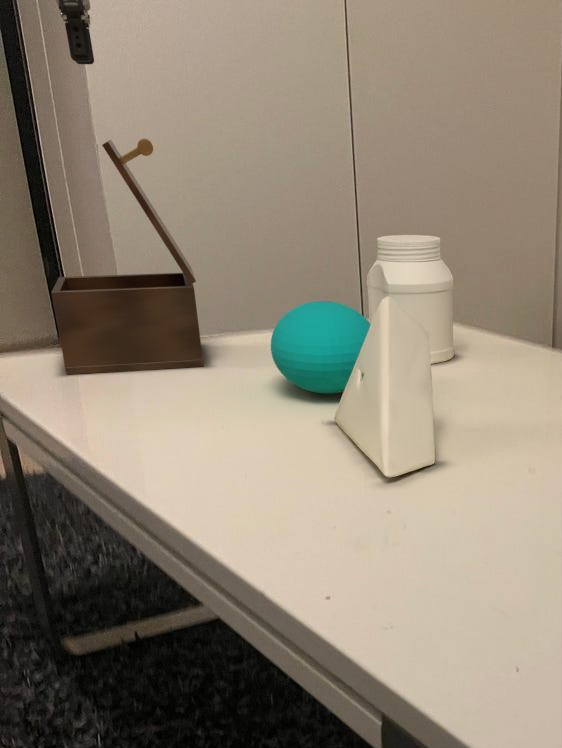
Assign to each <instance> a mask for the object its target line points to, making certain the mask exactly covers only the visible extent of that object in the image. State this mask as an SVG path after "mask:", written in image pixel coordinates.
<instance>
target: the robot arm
mask: <svg viewBox="0 0 562 748" xmlns="http://www.w3.org/2000/svg"><path fill="white" fill-rule="evenodd" d="M55 3H56V4H57V6H58V10H59V11H60V18H62V22H64V25H65V31H66V39H67V43H68V49H69V55H70V59H71V60H72V61H74V62H75V63H76V64H77V65H93V64H94V63H95V57H94V51H93V45H92V44H93V43H92V39H91V33H90V28H91V27H90V25H91V16H90V14H89V11H90V10H91V2H90V0H55Z"/></svg>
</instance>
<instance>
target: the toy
mask: <svg viewBox="0 0 562 748" xmlns="http://www.w3.org/2000/svg"><path fill="white" fill-rule="evenodd" d="M370 326H371V324H370V323H369V319H367V318H366V317H365V316H364V315H363V314H361V312H359V311H358V310H356V309H354V308H352V307H350V306H348V305H345V304H342V303H340V302H335V301H330V300H329V301H328V300H319V301H318V300H317V301H309V302H306V303H303V304H300V305H298V306H296V307H294V308H292V309H290V310H289V311H287V312H286V313H285V314H284V315H283V316H282V317H281V318H280V319H279V321H278V322H277V323H276V324H275V327H274V328H273V331H272V334H271V338H270V354H271V358H272V360H273V362H274V364H275V366H276V368H277V369H278V371H279V372H280V374H281V375H282V376H283V377H284V378H285V379H286V380H288V381H289V382H290V383H292V384H293V385H295V386H296V387H298V388H300V389H302V390H305V391H308V392H311V393H316V394H326V395H329V394H339V393H344V390H345V388H346V385H347V383H348V380H349V378H350V375H351V373H352V370H353V368H354V365H355V363H356V360H357V358H358V356H359V353H360V351H361V348H362V346H363V343H364V341H365V338H366V336H367V333H368V331H369V328H370ZM363 375H364V374H362V379H363Z"/></svg>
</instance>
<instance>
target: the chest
mask: <svg viewBox="0 0 562 748" xmlns="http://www.w3.org/2000/svg"><path fill="white" fill-rule="evenodd" d="M50 294H51V300H52V305H53V311H54V315H55V320H56V326H57V331H58V336H59V341H60V342H59V343H60V347H61V352H62V357H63V362H64V368H65V373H66V375H67V376H68V375H83V374H99V373H100V374H101V373H102V374H103V373H115V372H117V373H119V372H134V371H151V370H167V369H185V368H203V367H204V366H205V365H204V364H205V363H204V358H203V350H202V341H201V333H200V326H199V325H200V324H199V317H198V309H197V308H198V307H197V301H196V294H195V286H194V283H193V284H190V283H189V281H188V280H187V278H186V276H185V275H184V273H183V272H164V273H137V274H133V273H131V274H107V275H106V274H104V275H74V276H59V277H58V278H57V281H56V282H55V284H54V286H53V288H52V290H51V291H50Z"/></svg>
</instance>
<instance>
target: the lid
mask: <svg viewBox="0 0 562 748" xmlns="http://www.w3.org/2000/svg"><path fill="white" fill-rule="evenodd" d="M136 145H137V147H135V148H134V149H132V150H130V151H129V152H127V153H125V154H124V155H122V154H121V153H120V152H119V150H118V149H117V147H116V145H115V144H114V142H113V141H112V139H109V140H107V141H105V142H104V143H103V144H102V145H101V146H102V148H103V149H104V151H105V152H106V154H107V155H108V157H109V158H110V160H111V162H112V163H113V165H114V167H115V168H116V169H117V171H118V173H119V174H120V176H121V177H122V180H123V181H124V182H125V184H126V185H127V187H128V189H129V190H130V192H131V193H132V195H133V196H134V198H135V199H136V201H137V203H138V204H139V207H141V209H142V210H143V212H144V213H145V215H146V217H147V218H148V220H149V221H150V223H151V224H152V226H153V228H154V229H155V231H156V232H157V234H158V236H159V237H160V239H161V240H162V242H163V243H164V245H165V247H166V248H167V250H168V251H169V253H170V255H171V256H172V258H173V260H174V261H175V263H176V264H177V266H178V267H179V268H180V270H181V273H184V275H185V276H186V278H187V280H188V281H189V283H190V284H193V285H194V283H196V282H197V280H196V277H195V274H194V271H193V269H192V267H191V265H190V263H189V261H188V260H187V258H186V257H185V255H184V253H183V252H182V250H181V249H180V247H179V246H178V244H177V242H176V241H175V239H174V238H173V236H172V235H171V233H170V231H169V230H168V228H167V226H166V225H165V223H164V221H163V220H162V218H161V216H159V214H158V212H157V211H156V209H155V207H154V205H153V204H152V203H151V201H150V200H149V198H148V196H147V195H146V193H145V192H144V190H143V188H142V187H141V185H140V183H139V182H138V180H137V179H136V177H135V175H134V174H133V172H132V171H131V169H130V168H129V166H128V165H127V163H128V162H130V161H131V160H134V159H135V158H137V157H139V156H141V155H142V156H145V157H149V156H150V155H152V154H153V152H154V146H153V144H152V142H151V140H150V139H148V138H141V139H139V140H138V142H137V144H136Z"/></svg>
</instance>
